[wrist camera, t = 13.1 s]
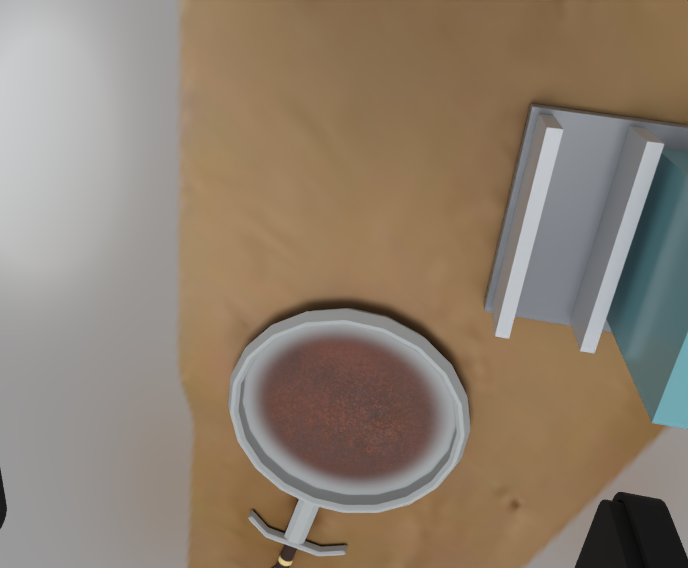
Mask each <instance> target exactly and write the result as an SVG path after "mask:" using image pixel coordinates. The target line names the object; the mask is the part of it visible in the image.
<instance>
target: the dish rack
mask: <svg viewBox="0 0 688 568" xmlns="http://www.w3.org/2000/svg"><path fill="white" fill-rule="evenodd" d="M663 148H666V149H673V150H681V151H688V125H683V124H676V123H669V122H662V121H654V120H647V119H640V118H633V117H625V116H618V115H611V114H604V113H597V112H589V111H582V110H575V109H568V108H560V107H553V106H546V105H539V104H530V108H529V112H528V116H527V121H526V125H525V129H524V134H523V138H522V142H521V146H520V151H519V155H518V159H517V164H516V168H515V172H514V176H513V181H512V185H511V189H510V194H509V198H508V202H507V206H506V211H505V215H504V219H503V224H502V228H501V232H500V236H499V241H498V245H497V249H496V253H495V258H494V262H493V266H492V271H491V275H490V279H489V283H488V288H487V292H486V296H485V301H484V311H486V312H492V314H493V323H494V333H495V336H496V337H502V338H508V339H509V337H510V333H511V329H512V325H513V321H514V317H515V316H516V317H522V318H528V319H534V320H540V321H546V322H552V323H558V324H563V325H569V326H572V328H573V331H574V334H575V337H576V340H577V343H578V346H579V349H580V351H584V352H590V353H595V350H596V347H597V344H598V341H599V338H600V335H601V332H602V331H605V332H611V333H612V331H611V329H610V326H609V324H608V322H607V319H606V317H607V314H608V311H609V308H610V305H611V302H612V299H613V296H614V293H615V290H616V287H617V284H618V281H619V278H620V275H621V272H622V269H623V266H624V263H625V260H626V257H627V254H628V251H629V248H630V245H631V242H632V239H633V236H634V233H635V230H636V227H637V224H638V222H639V219H640V216H641V213H642V210H643V207H644V204H645V201H646V198H647V195H648V192H649V189H650V186H651V183H652V180H653V177H654V174H655V171H656V168H657V165H658V162H659V159H660V156H661V153H662V150H663Z"/></svg>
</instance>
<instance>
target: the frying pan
mask: <svg viewBox="0 0 688 568" xmlns="http://www.w3.org/2000/svg"><path fill="white" fill-rule="evenodd" d="M228 407H229V411H230V414H231V418H232V422H233V425H234V429H235V433H236V436H237V440H238V442H239V444H240V445H241V447H242V448H243V450H244V451H245V453H246V454H247V456H248V457H249V459H250V461H251V462H252V464H253V465H254V467H255V468H256V469H257V470H258V471H260V472H261V473H262V474H263V475H264V476H265V477H266V478H268V479H269V480H270V481H271V482H272V483H273V484H275V485H276V486H277V487H278V488H279V489H280V490H282V491H284V492H286V493H288V494H290V495H292V496H294V497H296V498H298V499H299V501H298V503H297V505H296V508H295V510H294V513H293V515H292V518H291V520H290V523H289V525H288V528H287V530H286V533H282V532H280V531H277V530H274V529H271V528H269V527H267V525H266V524H265V523H264V522H263V521H262V520H261V519H260V518H259V517H258V516H257V515H256V514H255V512H254V511H253V510H251V512H250V515H249V518H248V519H249V520H250V521H251V522H252V523H253V524H254V525H255V526H256V527H257V528H258V530H259V531H260V532H261V533H262V534H263V535H264V536H265V537H267V538H269V539H272V540H275V541H278V542H280V543H283V544H285V546H284V549H283V551H282V554H281V555H280V556H279V558H278V564H277V566H276V567H274V568H289V566H290V565H291V564H292V562H293V557H294V554H295V552H296V549H299V550H302V551H305V552H308V553H310V554H313V555H316V556H331V555H345V554H346V548H347V545H342V546H324V547H321V546H318V545H315V544H313V543H310V542H307V541H305V539H306V537H307V534H308V532H309V530H310V527H311V525H312V523H313V520H314V518H315V516H316V513H317V511H318V509H319V507H322V508H326V509H330V510H334V511H339V512H343V513H379V512H382V511H386V510H390V509H394V508H398V507H402V506H405V505H409V504H411V503H413V502H414V501H416V500H418V499H419V498H421V497H423V496H424V495H426V494H428V493H429V492H431V491H433V490H434V489H436V488H437V487H438V486H439V485H440V484H441V483H442V482H443V481H444V479H445V478H446V477H447V476H448V475H449V473H450V472H451V471H452V470H453V469H454V467H455V466H456V465H457V464H458V463H459V461H460V460H461V458H462V455H463V452H464V449H465V446H466V442H467V439H468V436H469V433H470V430H471V429H470V418H469V406H468V397H467V395H466V393H465V391H464V388H463V386H462V384H461V382H460V380H459V378H458V376H457V374H456V372H455V370H454V368H453V366H452V364H451V363H450V362H449V361H447V360H446V359H445V358H444V357H443V356H442V355H441V354H440V353H439V352H438V351H437V350H436V349H435V348H434V347H433V346H432V345H431V344H430V343H429V342H428V341H427V340H426V339H425V338H424V337H423V336H421V335H420V334H419V333H418V332H416V331H414V330H412V329H410V328H408V327H406V326H405V325H403V324H401V323H399V322H397V321H395V320H393V319H391V318H390V317H388V316H385V315H381V314H376V313H371V312H367V311H362V310H358V309H353V308H340V309H325V310H313V311H306V312H304V313H301V314H299V315H296V316H294V317H291V318H288V319H286V320H283V321H281V322H278V323H275V324H273V325H271V326H270V327H269V328H267V329H266V330H265V331H264V332H263V333H262V334H261V335H259V336H258V337H257V338H256V339H255V340H254V341H252V342H251V343H250V344H249V345H248V346H247V347H246V348H245V350H244V351H243V353H242V355H241V357H240V359H239V361H238V363H237V365H236V367H235V369H234V370H233V372H232V374H231V381H230V391H229V401H228Z"/></svg>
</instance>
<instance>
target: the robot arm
mask: <svg viewBox="0 0 688 568" xmlns="http://www.w3.org/2000/svg"><path fill="white" fill-rule="evenodd" d="M6 511H7V505H6V500H5V493H4V488H3V481H2V476H1V470H0V528H1V527H2V525H3V523H4V520H5V517H6ZM575 568H688V558H687V556H686V553H685V551H684V548H683V546H682V543H681V540H680V538H679V535H678V533H677V530H676V528H675V525H674V523H673V520H672V518H671V515H670V513H669V510H668V508H667V506H666V504H665V503H664V502H663V501H662V500H661V499H656V498H651V497H645V496H640V495H635V494H630V493H624V492H618V493H617V494H616V495H615V496H614V498H613V500H612V501H610V500H602V501H601V502H600V504H599V506H598V508H597V512H596V514H595V516H594V519H593V521H592V524H591V527H590V529H589V532H588V535H587V537H586V540H585V542H584V545H583V547H582V550H581V553H580V555H579V558H578V560H577V563H576V566H575Z"/></svg>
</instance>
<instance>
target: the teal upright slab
mask: <svg viewBox="0 0 688 568" xmlns="http://www.w3.org/2000/svg"><path fill="white" fill-rule="evenodd" d="M606 319H607V322H608V324H609V326H610V329H611V331H612V333H613V335H614V338H615V340H616V342H617V344H618V347H619V349H620V351H621V354H622V356H623V358H624V360H625V363H626V365H627V367H628V370H629V372H630V374H631V376H632V379H633V381H634V383H635V386H636V388H637V390H638V392H639V395H640V397H641V399H642V402H643V404H644V406H645V408H646V411H647V413H648V415H649V417H650V420H651V422H652V423H656V424H662V425H667V426H673V427H679V428H685V429H688V151H681V150H673V149H666V148H663V150H662V153H661V156H660V159H659V162H658V165H657V168H656V171H655V174H654V177H653V180H652V183H651V186H650V189H649V192H648V195H647V198H646V201H645V204H644V207H643V210H642V213H641V216H640V219H639V222H638V224H637V227H636V230H635V233H634V236H633V239H632V242H631V245H630V248H629V251H628V254H627V257H626V260H625V263H624V266H623V269H622V272H621V275H620V278H619V281H618V284H617V287H616V290H615V293H614V296H613V299H612V302H611V305H610V308H609V311H608V314H607V317H606Z"/></svg>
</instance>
